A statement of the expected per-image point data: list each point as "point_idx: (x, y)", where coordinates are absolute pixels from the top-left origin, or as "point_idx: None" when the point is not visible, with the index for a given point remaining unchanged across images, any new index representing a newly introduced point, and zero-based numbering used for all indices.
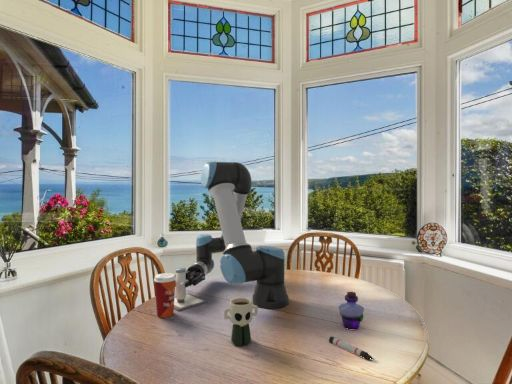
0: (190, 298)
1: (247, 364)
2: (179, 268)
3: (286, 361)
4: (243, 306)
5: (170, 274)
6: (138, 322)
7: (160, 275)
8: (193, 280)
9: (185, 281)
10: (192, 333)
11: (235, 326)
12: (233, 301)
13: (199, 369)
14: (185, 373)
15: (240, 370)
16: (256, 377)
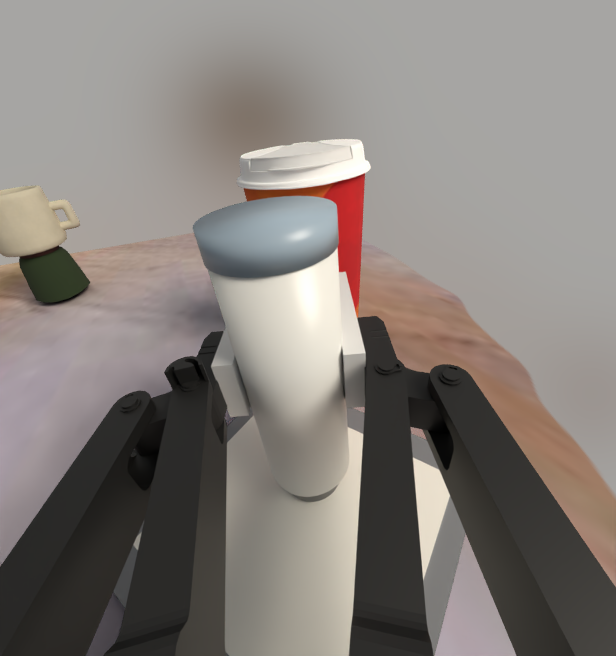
0: (259, 581)
1: (85, 262)
2: (290, 216)
3: (9, 278)
4: (13, 191)
5: (275, 154)
6: (376, 292)
7: (329, 143)
8: (146, 397)
9: (225, 328)
10: (186, 292)
11: (61, 247)
12: (22, 198)
13: (166, 244)
14: (187, 237)
15: (102, 254)
16: (84, 252)
